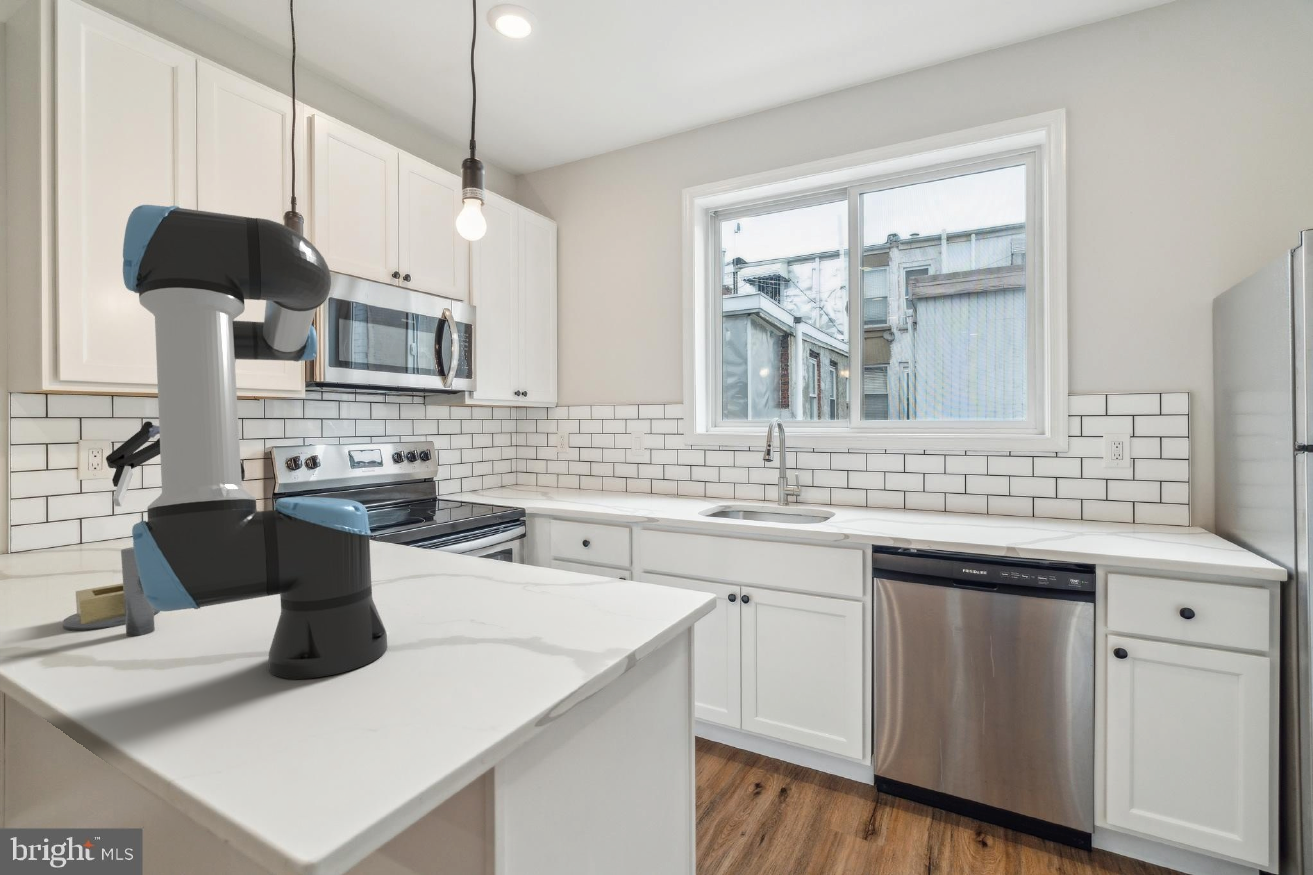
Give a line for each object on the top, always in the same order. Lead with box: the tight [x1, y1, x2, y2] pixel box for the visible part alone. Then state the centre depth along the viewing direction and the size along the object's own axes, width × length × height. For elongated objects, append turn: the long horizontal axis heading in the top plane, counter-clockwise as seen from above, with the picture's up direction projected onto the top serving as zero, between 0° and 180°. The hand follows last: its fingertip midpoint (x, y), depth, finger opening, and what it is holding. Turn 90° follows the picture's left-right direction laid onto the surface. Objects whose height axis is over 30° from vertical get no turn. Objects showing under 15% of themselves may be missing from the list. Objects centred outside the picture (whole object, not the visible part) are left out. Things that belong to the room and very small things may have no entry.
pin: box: [120, 546, 156, 637], centre depth 101 cm, size 4×4×14 cm
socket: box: [62, 582, 161, 632], centre depth 109 cm, size 13×13×5 cm
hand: (166, 506), depth 107 cm, fingers open, 13 cm apart
